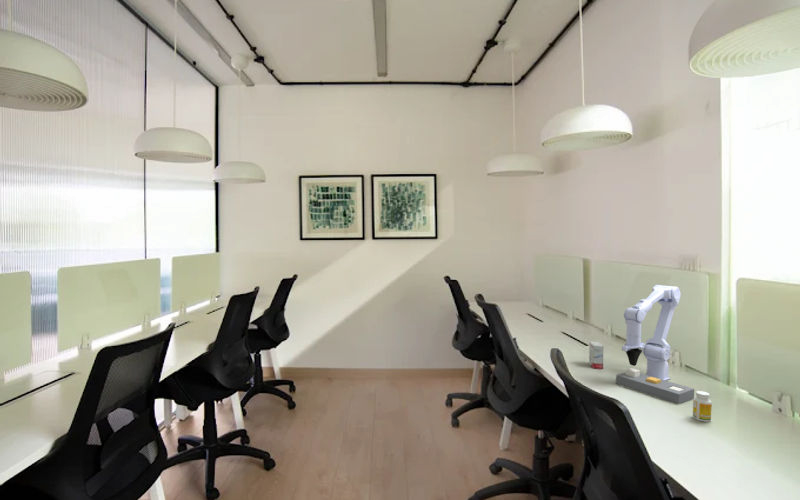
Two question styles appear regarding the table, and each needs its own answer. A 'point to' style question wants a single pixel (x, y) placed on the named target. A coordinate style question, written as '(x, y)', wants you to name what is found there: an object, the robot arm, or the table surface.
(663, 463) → the table surface
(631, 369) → the block
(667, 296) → the robot arm
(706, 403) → the supplement bottle
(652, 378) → the amber button
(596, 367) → the ink box
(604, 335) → the table surface
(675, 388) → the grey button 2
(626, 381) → the panel
